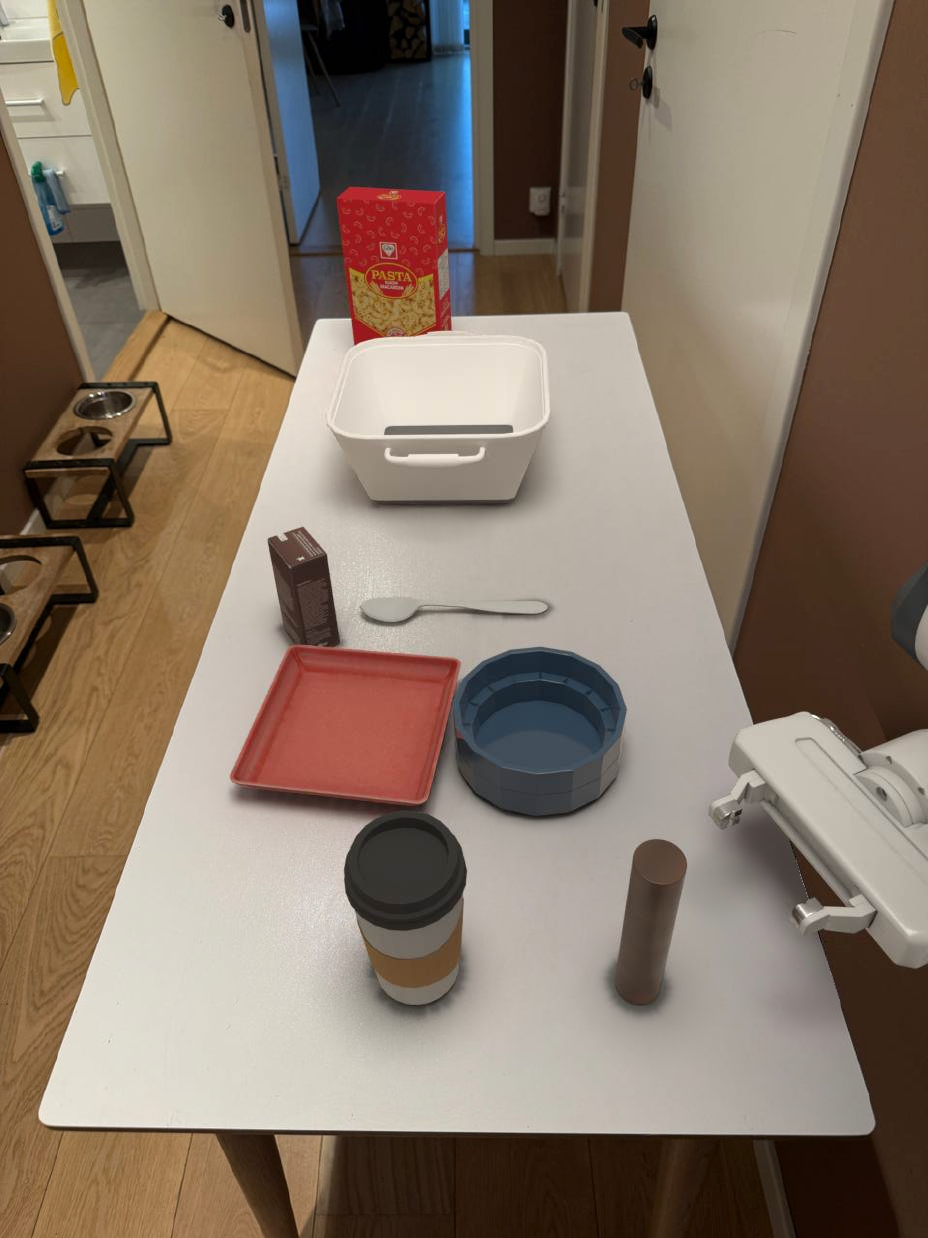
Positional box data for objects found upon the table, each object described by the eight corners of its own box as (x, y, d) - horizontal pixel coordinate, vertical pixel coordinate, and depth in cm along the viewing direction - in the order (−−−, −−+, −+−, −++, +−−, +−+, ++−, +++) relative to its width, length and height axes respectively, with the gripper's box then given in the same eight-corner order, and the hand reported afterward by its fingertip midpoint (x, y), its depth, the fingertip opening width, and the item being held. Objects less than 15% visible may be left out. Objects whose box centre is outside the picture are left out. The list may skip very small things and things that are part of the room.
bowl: (650, 740, 87) (657, 693, 83) (559, 850, 78) (562, 802, 74) (519, 673, 94) (520, 625, 90) (423, 766, 86) (418, 718, 82)
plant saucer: (233, 803, 83) (225, 780, 81) (293, 664, 97) (288, 641, 94) (429, 827, 81) (426, 804, 78) (464, 681, 94) (462, 657, 92)
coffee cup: (380, 911, 75) (360, 796, 65) (481, 928, 73) (477, 813, 63) (350, 1010, 69) (323, 900, 59) (460, 1031, 67) (451, 922, 57)
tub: (550, 545, 110) (553, 452, 102) (328, 546, 112) (313, 454, 103) (543, 406, 136) (545, 322, 127) (362, 408, 137) (352, 325, 129)
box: (343, 642, 99) (328, 553, 91) (305, 658, 97) (286, 569, 89) (319, 611, 103) (303, 523, 95) (282, 627, 101) (262, 538, 93)
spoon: (362, 603, 104) (360, 592, 103) (545, 595, 103) (546, 584, 102) (359, 628, 101) (358, 617, 99) (549, 620, 100) (549, 609, 99)
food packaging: (356, 360, 149) (336, 198, 133) (367, 346, 153) (349, 186, 136) (443, 369, 146) (434, 203, 129) (452, 354, 150) (445, 191, 133)
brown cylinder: (669, 979, 70) (696, 856, 59) (645, 1014, 68) (670, 894, 57) (629, 953, 71) (650, 830, 61) (606, 987, 69) (622, 865, 59)
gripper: (824, 680, 74) (676, 736, 70) (1035, 884, 60) (865, 968, 56) (807, 732, 78) (667, 788, 74) (1001, 935, 64) (840, 1016, 60)
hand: (753, 867), depth 65 cm, fingers open, 8 cm apart
